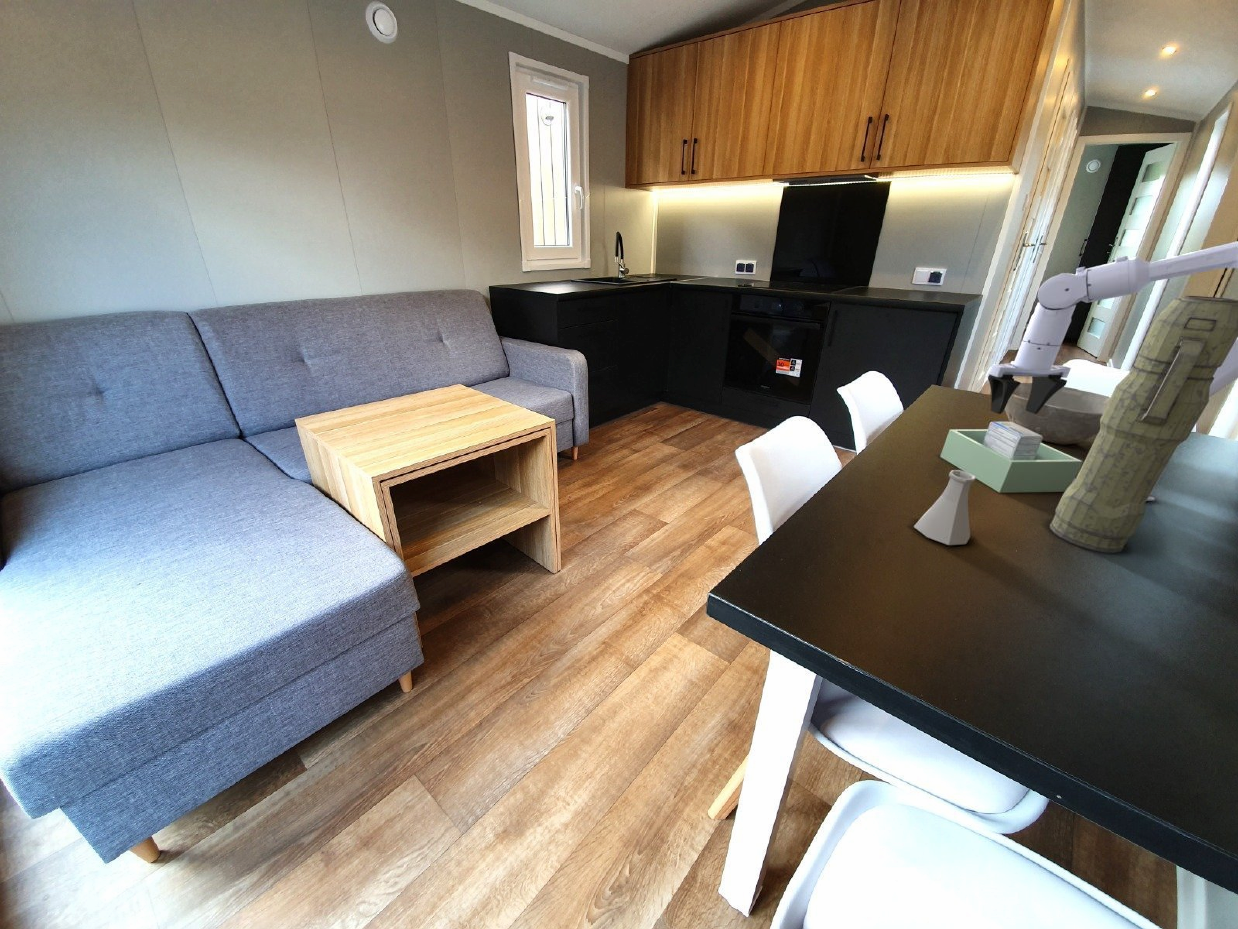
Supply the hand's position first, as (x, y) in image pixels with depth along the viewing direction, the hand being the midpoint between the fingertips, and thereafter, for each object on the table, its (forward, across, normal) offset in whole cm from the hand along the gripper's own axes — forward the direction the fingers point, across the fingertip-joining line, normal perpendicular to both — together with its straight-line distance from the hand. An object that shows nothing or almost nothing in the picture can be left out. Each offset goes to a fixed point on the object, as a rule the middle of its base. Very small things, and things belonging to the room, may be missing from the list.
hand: (1013, 412), depth 97 cm
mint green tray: (+10, +4, +6) cm, 13 cm away
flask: (+11, +31, +26) cm, 42 cm away
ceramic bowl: (+11, -23, -12) cm, 28 cm away
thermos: (+11, +9, +28) cm, 31 cm away
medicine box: (+10, +4, +6) cm, 12 cm away
